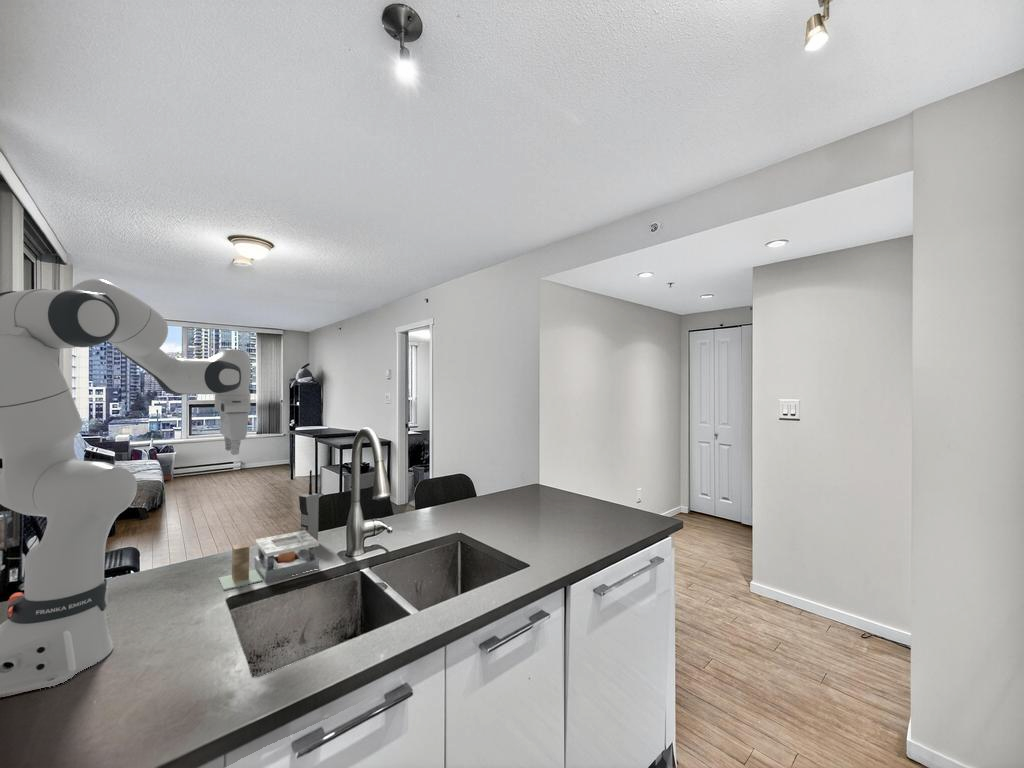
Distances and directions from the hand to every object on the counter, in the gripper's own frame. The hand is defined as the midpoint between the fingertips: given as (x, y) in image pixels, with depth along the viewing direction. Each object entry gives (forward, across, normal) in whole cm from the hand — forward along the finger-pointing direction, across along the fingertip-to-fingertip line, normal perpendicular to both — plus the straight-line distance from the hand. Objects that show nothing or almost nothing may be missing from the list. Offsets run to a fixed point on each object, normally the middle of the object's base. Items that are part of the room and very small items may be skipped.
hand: (231, 452), depth 131 cm
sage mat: (+34, +10, +1) cm, 36 cm away
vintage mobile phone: (+34, -8, +24) cm, 43 cm away
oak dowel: (+34, +10, +1) cm, 35 cm away
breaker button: (+33, +9, +13) cm, 37 cm away
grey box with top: (+34, +9, +13) cm, 38 cm away
